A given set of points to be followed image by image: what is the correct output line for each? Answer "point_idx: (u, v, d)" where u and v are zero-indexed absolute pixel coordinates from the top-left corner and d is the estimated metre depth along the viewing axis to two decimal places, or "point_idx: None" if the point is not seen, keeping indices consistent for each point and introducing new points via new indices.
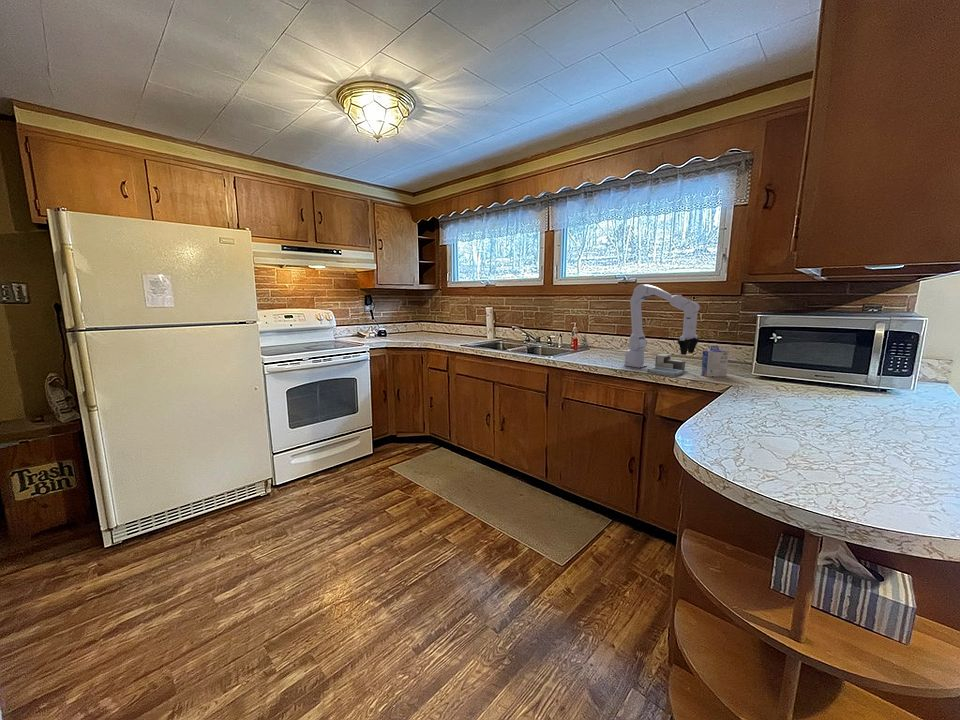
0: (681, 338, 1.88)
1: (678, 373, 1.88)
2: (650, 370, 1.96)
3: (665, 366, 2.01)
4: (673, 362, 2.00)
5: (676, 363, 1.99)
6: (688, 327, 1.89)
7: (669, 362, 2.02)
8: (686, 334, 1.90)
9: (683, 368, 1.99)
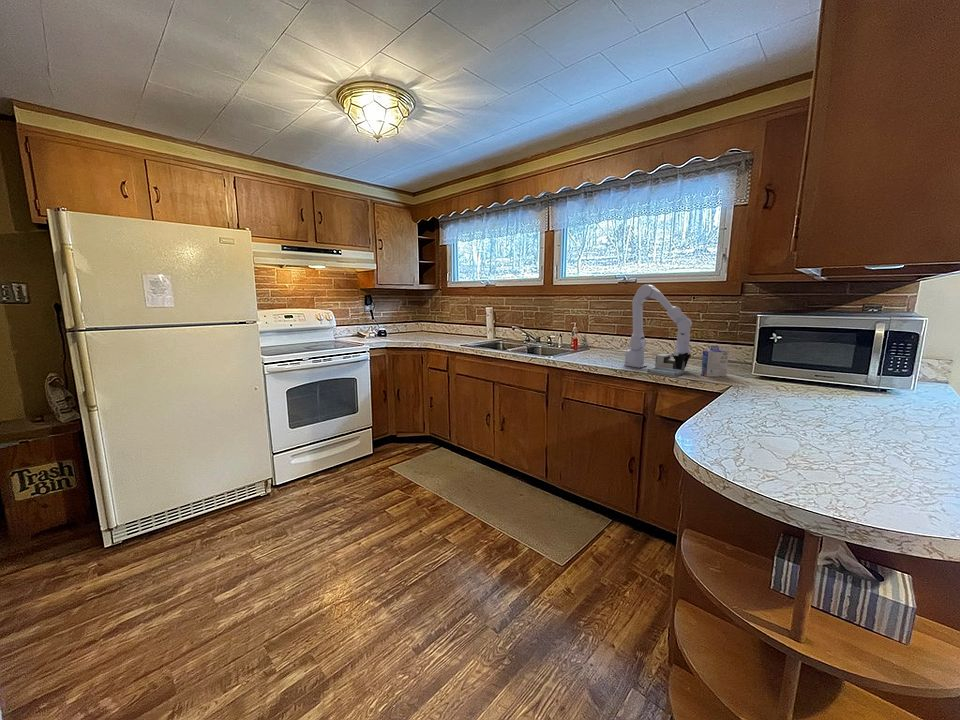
0: (675, 353, 1.94)
1: (678, 373, 1.88)
2: (650, 370, 1.96)
3: (665, 366, 2.01)
4: (673, 362, 2.00)
5: None
6: (681, 342, 1.95)
7: (669, 362, 2.02)
8: (680, 349, 1.96)
9: (683, 368, 1.99)
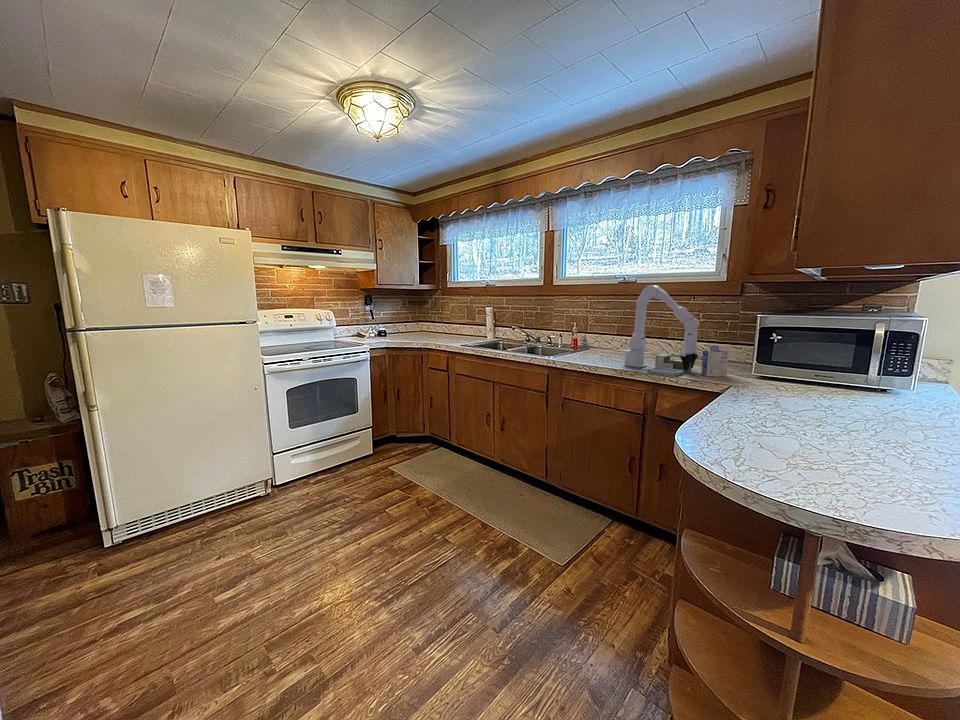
0: (682, 354, 1.91)
1: (678, 373, 1.88)
2: (650, 370, 1.96)
3: (665, 366, 2.01)
4: (680, 362, 1.98)
5: None
6: (689, 343, 1.92)
7: (675, 362, 1.99)
8: (687, 350, 1.93)
9: (690, 369, 1.97)
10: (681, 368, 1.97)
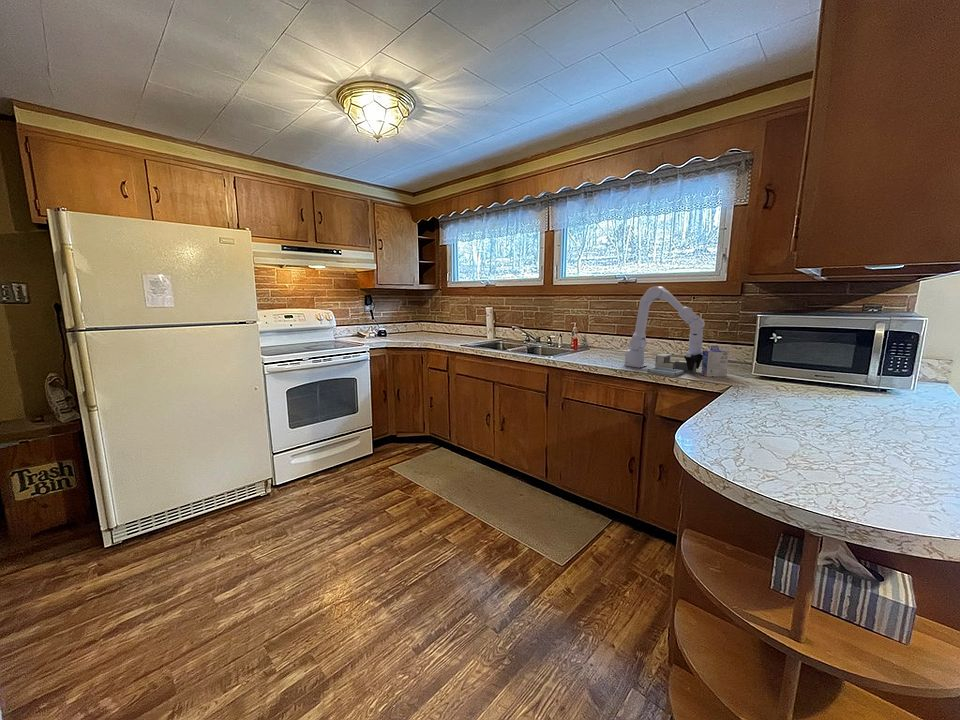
0: (687, 354, 1.89)
1: (678, 373, 1.88)
2: (650, 370, 1.96)
3: (665, 366, 2.01)
4: (684, 363, 1.96)
5: None
6: (694, 343, 1.90)
7: (680, 363, 1.98)
8: (692, 350, 1.91)
9: (694, 370, 1.95)
10: (686, 369, 1.96)
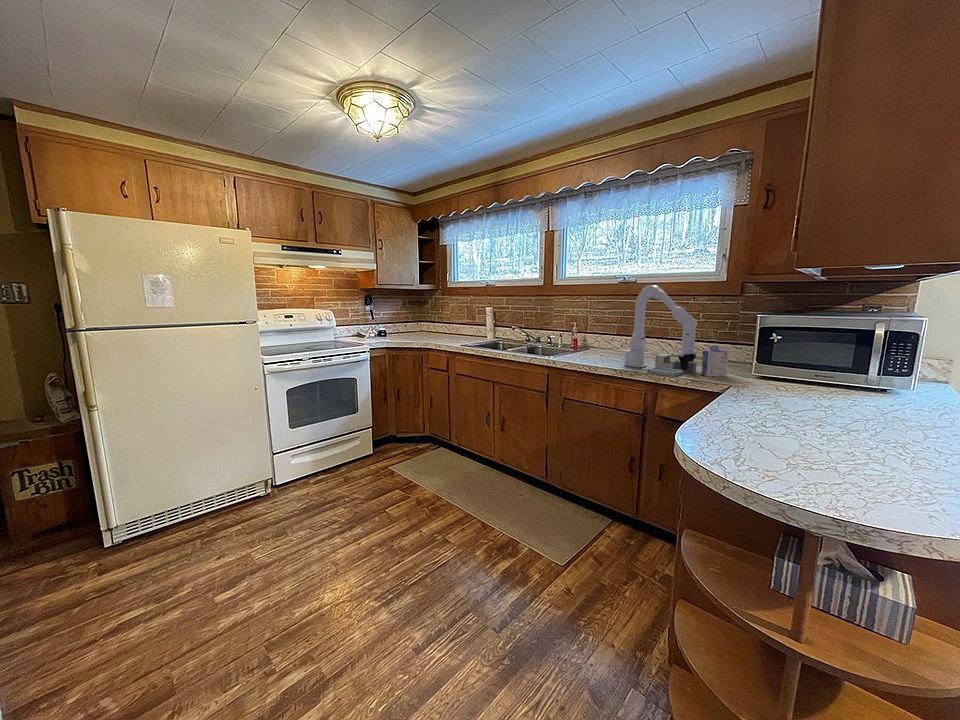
0: (680, 354, 1.92)
1: (678, 373, 1.88)
2: (650, 370, 1.96)
3: (665, 366, 2.01)
4: None
5: None
6: (687, 343, 1.93)
7: (680, 363, 1.97)
8: (685, 350, 1.94)
9: (694, 369, 1.95)
10: (686, 369, 1.96)
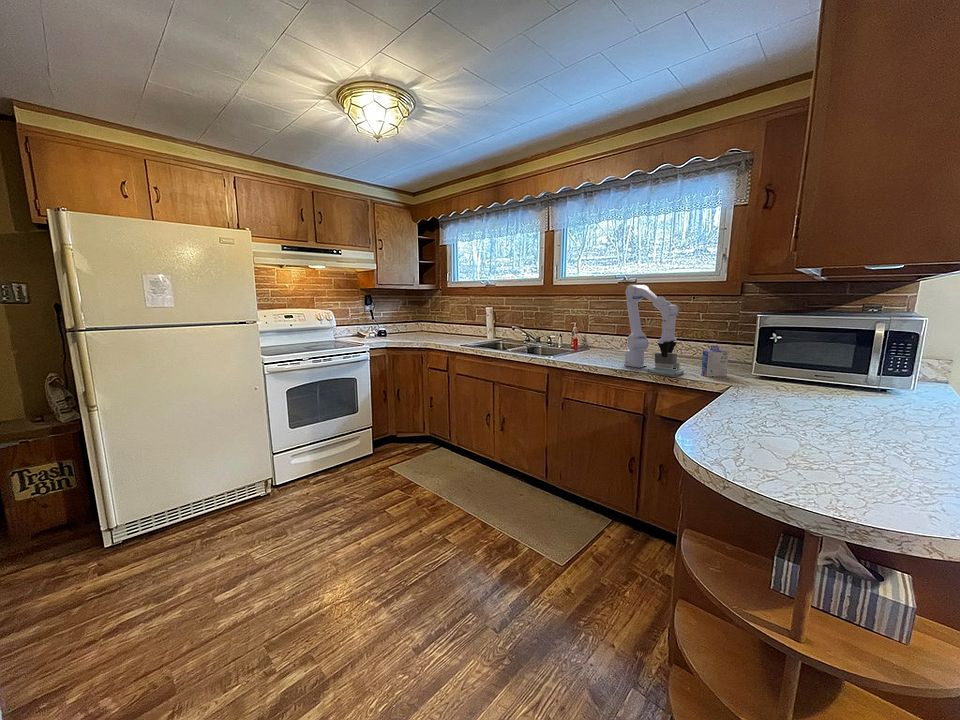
0: (660, 341, 1.87)
1: (678, 373, 1.88)
2: (650, 370, 1.96)
3: (665, 366, 2.01)
4: None
5: (667, 355, 1.91)
6: (667, 330, 1.89)
7: (660, 355, 1.93)
8: (665, 337, 1.90)
9: (675, 360, 1.91)
10: (666, 360, 1.91)
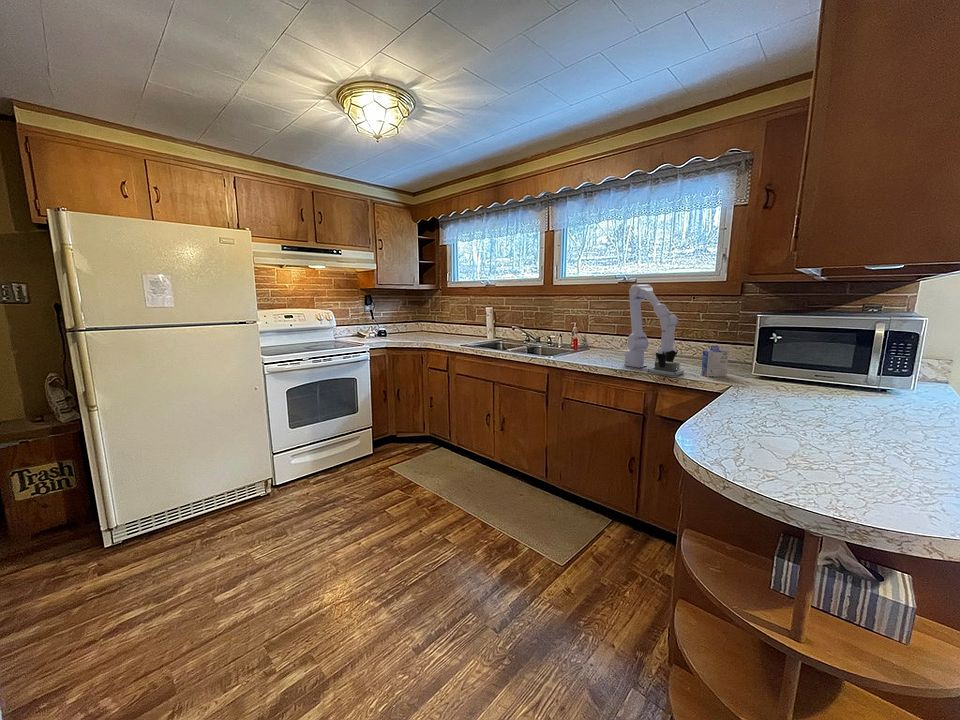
0: (659, 351, 1.88)
1: (678, 373, 1.88)
2: (650, 370, 1.96)
3: None
4: None
5: (667, 365, 1.91)
6: (666, 340, 1.90)
7: None
8: (664, 347, 1.91)
9: (674, 370, 1.91)
10: (665, 369, 1.92)
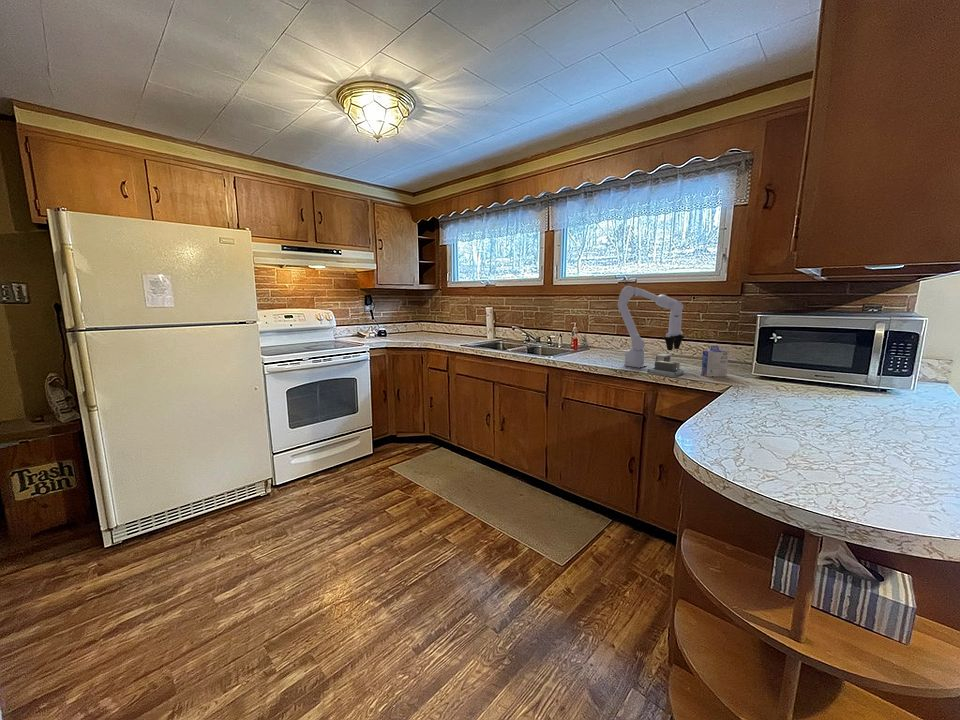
0: (667, 335, 2.00)
1: (678, 373, 1.88)
2: (650, 370, 1.96)
3: None
4: (664, 364, 1.92)
5: (667, 365, 1.91)
6: (673, 324, 2.01)
7: (660, 364, 1.94)
8: (672, 331, 2.02)
9: (674, 370, 1.91)
10: (665, 369, 1.92)
